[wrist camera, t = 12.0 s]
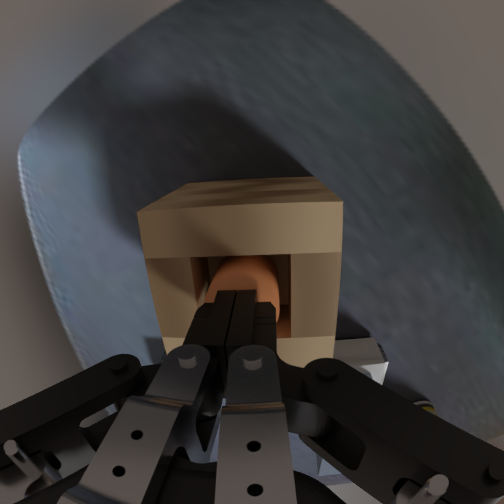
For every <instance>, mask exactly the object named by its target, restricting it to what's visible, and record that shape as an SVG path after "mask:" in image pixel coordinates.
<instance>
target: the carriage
mask: <svg viewBox="0 0 504 504" xmlns="http://www.w3.org/2000/svg"><path fill="white" fill-rule="evenodd" d="M333 358H334V359H338V360H341V361H343V362H345V363H346V364H348V365H350V366H351V367H353V368H354V369H356V370H358V371H359V372H361V373H363V374H364V375H366V376H368V377H369V378H371V379H373V380H374V381H376V382H378V383H380V381H381V378H382V374H383V370H384V366H385V361H384V359H383V356H382V354H381V352H380V349H379V347H378V345H377V343H376V340H375V338H374V337H371V338H360V339H349V340H335V343H334V352H333ZM316 457H317V468H318V476H324V475H333V474H342V473H340V472H339V471H338V470H336V469H335V468H334V467H333V466H331V465H330V464H329V463H328V462H326V461H325V460H324V459H323V458H322V457H320V456H319V455H318V454H317V453H316Z"/></svg>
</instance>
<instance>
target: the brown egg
mask: <svg viewBox="0 0 504 504" xmlns="http://www.w3.org/2000/svg"><path fill="white" fill-rule="evenodd" d="M251 289H257V300H258V302H271V303H272V304H273V305H274V307H275V308H276V323H277V320H278V318H279V310H280V308H279V280H278V271H277V268H276V266H275V264H274V262H273V261H272V260H271V259H270V258H269V257H268V256H267V255H240V256H225V257H224V258H223V259H222V260H221V261H220V263H219V265H218V267H217V270H216V272H215V274H214V277H213V279H212V282H211V284H210V287H209V289H208V291H207V294H206V296H205V299H204V303H214V300H215V297H216V294H217V291H218V290H237V291H238V290H251Z"/></svg>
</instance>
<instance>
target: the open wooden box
mask: <svg viewBox="0 0 504 504" xmlns="http://www.w3.org/2000/svg"><path fill="white" fill-rule="evenodd" d="M137 217H138V223H139V229H140V236H141V241H142V247H143V253H144V258H145V263H146V268H147V273H148V278H149V283H150V288H151V293H152V297H153V302H154V306H155V310H156V315H157V319H158V323H159V327H160V331H161V335H162V339H163V343H164V346H165V350H166V354H168V353H169V352H170V351H171V350H173V349H174V348H176V347H179V346H182V344H183V342H184V339H185V337H186V334H187V332H188V330H189V327H190V326H191V322H192V320H193V319H194V318H193V317H194V315H195V312H196V310H197V309H198V308H199V307H200V306H201V305H203V304H204V299H205V296H206V294H207V291H208V289H209V287H210V284H211V282H212V279H213V277H214V274H215V272H216V270H217V267H218V265H219V263H220V261H221V260H222V259H223V258H224V257H225V256H240V255H267V256H268V257H269V258H270V259H271V260H272V261H273V262H274V264H275V266H276V268H277V271H278V280H279V308H280V310H279V318H278V320H277V323H276V330H277V354H278V356H279V357H280V358H281V359H282V360H283V361H284V362H286V363H288V364H290V365H293V366H297V367H302V368H304V367H305V366H306V365H307V364H308V363H309V362H311V361H313V360H315V359H319V358H333V352H334V343H335V334H336V324H337V313H338V301H339V288H340V272H341V253H342V226H343V201H342V200H341V199H339V198H338V197H337V196H336V195H335V194H334V193H333V192H332V191H330V190H329V189H328V188H327V187H326V186H325V185H323V184H322V183H321V182H320V181H319V180H318V179H316V178H315V177H281V178H257V179H238V180H222V181H208V182H196V183H187V184H185V185H184V186H182V187H180V188H178V189H176V190H174V191H173V192H171V193H169V194H167V195H165V196H164V197H162V198H160V199H158V200H156V201H155V202H153V203H151V204H149V205H148V206H146V207H144V208H143V209H141V210H139V211H137Z"/></svg>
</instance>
